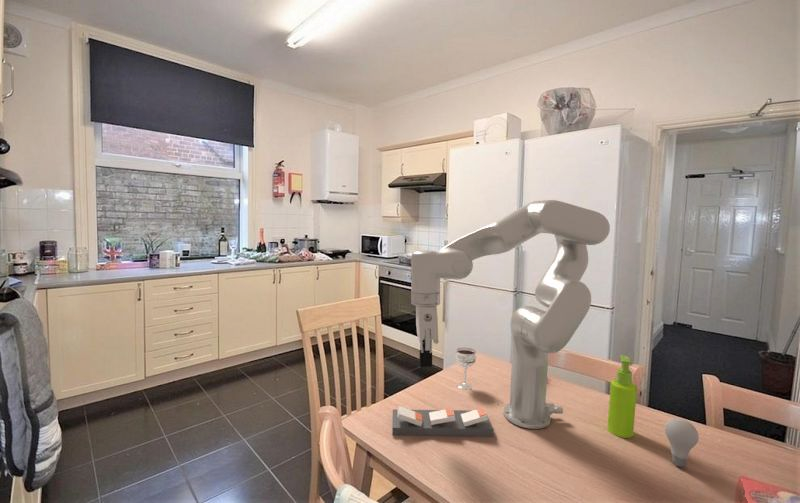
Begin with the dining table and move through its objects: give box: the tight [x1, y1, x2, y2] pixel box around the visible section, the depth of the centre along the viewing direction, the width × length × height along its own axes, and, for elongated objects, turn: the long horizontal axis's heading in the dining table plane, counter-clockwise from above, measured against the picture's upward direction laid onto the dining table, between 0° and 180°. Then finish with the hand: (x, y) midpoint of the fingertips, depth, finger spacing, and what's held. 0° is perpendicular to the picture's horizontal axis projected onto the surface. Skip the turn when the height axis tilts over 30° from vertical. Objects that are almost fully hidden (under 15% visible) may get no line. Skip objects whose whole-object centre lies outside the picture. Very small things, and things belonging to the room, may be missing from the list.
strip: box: [391, 408, 494, 437], centre depth 98 cm, size 26×9×3 cm, turn 91°
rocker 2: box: [461, 407, 489, 426], centre depth 97 cm, size 6×4×1 cm, turn 90°
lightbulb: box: [664, 417, 700, 468], centre depth 84 cm, size 6×6×11 cm
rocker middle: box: [429, 407, 455, 425], centre depth 96 cm, size 6×4×1 cm, turn 90°
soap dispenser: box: [607, 354, 638, 439], centre depth 97 cm, size 6×7×20 cm
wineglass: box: [455, 347, 477, 390], centre depth 122 cm, size 7×7×12 cm
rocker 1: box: [397, 405, 422, 426], centre depth 96 cm, size 6×4×1 cm, turn 92°
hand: (425, 365), depth 98 cm, fingers closed
